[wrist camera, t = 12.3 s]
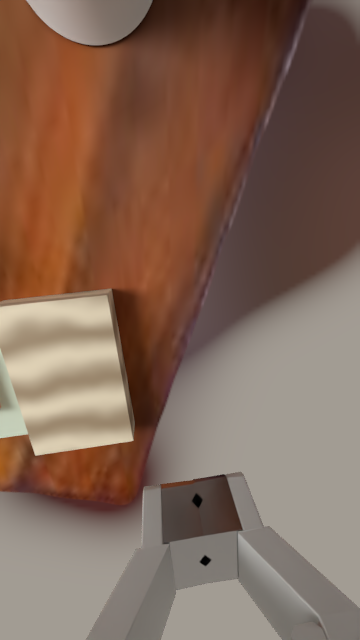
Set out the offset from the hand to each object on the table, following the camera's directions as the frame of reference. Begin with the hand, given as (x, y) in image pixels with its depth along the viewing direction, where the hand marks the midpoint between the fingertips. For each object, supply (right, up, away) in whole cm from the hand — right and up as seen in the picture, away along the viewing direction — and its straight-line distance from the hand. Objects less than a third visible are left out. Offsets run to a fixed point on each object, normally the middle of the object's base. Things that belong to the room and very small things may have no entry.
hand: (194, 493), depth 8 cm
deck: (-16, -2, +31) cm, 35 cm away
